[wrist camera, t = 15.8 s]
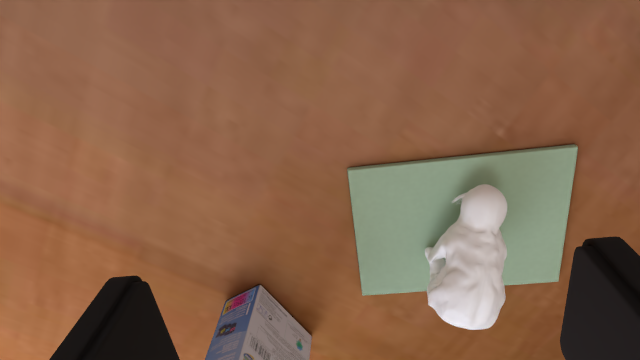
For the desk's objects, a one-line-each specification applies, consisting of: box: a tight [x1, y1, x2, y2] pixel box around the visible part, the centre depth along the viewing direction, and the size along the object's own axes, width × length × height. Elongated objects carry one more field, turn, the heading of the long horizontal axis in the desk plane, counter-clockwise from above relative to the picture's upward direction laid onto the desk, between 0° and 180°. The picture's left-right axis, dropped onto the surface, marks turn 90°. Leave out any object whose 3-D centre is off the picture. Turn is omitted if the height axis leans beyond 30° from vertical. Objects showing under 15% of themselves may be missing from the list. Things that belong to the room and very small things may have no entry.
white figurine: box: [425, 184, 509, 330], centre depth 37 cm, size 6×8×12 cm
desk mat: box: [347, 144, 578, 295], centre depth 41 cm, size 20×15×1 cm
